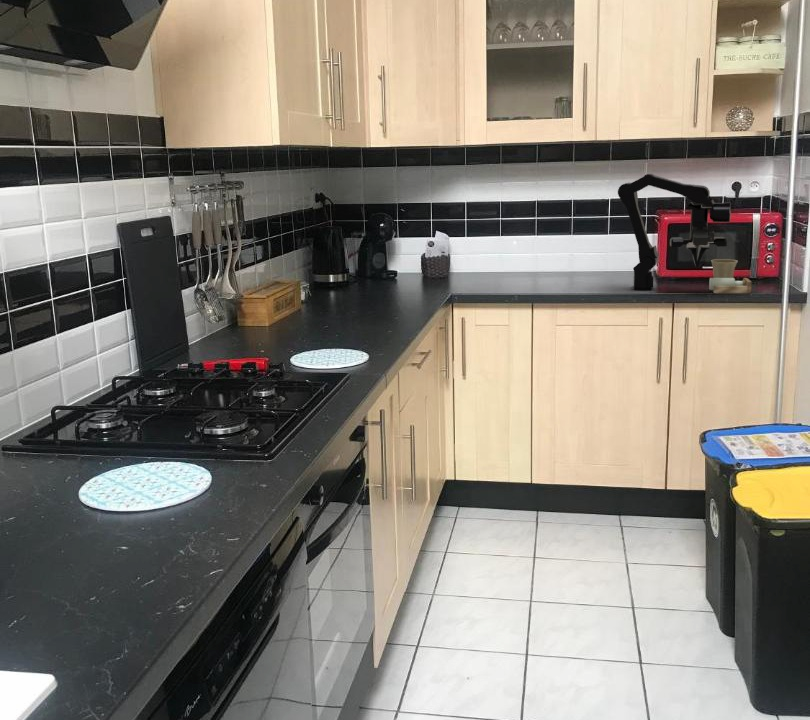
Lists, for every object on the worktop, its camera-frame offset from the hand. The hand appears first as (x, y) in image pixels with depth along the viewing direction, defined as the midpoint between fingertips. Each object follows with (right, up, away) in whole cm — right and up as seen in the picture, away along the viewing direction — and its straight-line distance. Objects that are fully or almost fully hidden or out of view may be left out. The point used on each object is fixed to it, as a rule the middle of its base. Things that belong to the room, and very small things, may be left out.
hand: (696, 266), depth 299 cm
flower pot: (+15, -5, +15) cm, 22 cm away
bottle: (+5, -6, +1) cm, 8 cm away
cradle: (+11, -9, 0) cm, 14 cm away
